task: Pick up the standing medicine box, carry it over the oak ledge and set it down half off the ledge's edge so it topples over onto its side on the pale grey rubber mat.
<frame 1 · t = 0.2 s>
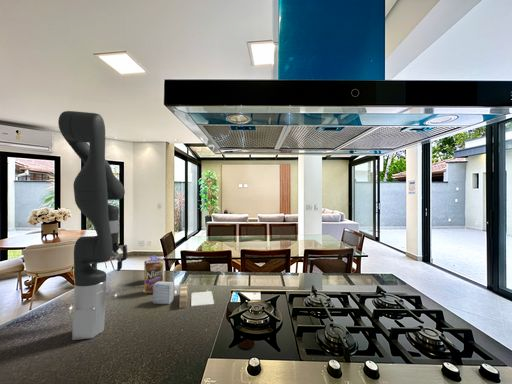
hand: (107, 271, 99), 17 cm above the countertop, tool pointing down, fingers open, 8 cm apart
candy box: (154, 292, 124), on the countertop
mat: (202, 298, 115), on the countertop
medicine box: (163, 302, 111), on the countertop
ink cartridge box: (153, 281, 142), on the countertop
ledge: (183, 300, 113), on the countertop
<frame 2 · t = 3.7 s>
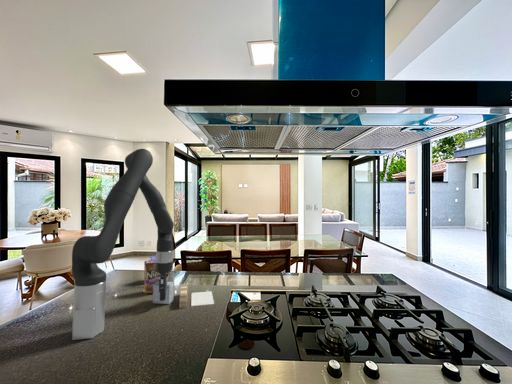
hand: (163, 297, 111), 2 cm above the countertop, tool pointing down, fingers closed on medicine box, 5 cm apart
medicine box: (163, 302, 111), on the countertop, touching gripper
everything else where it was.
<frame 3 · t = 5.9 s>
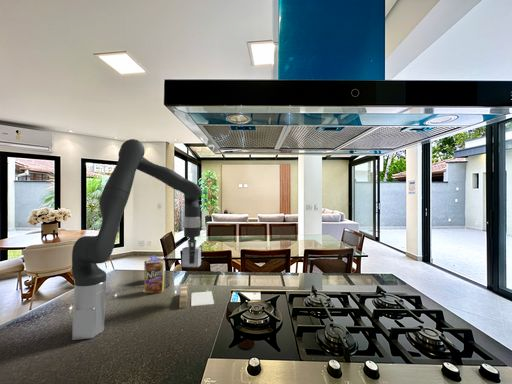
hand: (191, 261, 116), 18 cm above the countertop, tool pointing down, fingers closed on medicine box, 5 cm apart
medicine box: (191, 266, 115), point 15 cm above the countertop, touching gripper
everything else where it was.
when the fingers open (8 cm above the countertop, at t = 8.1 s): medicine box drops 1 cm, resting on mat.
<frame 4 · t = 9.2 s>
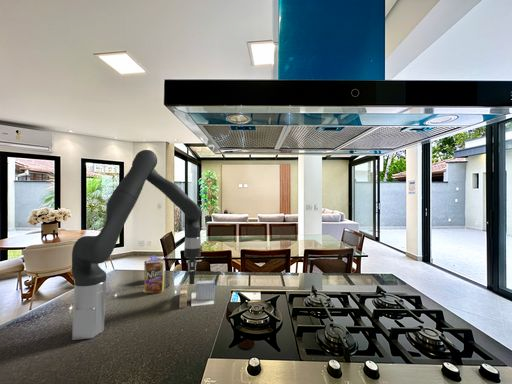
hand: (191, 281, 115), 9 cm above the countertop, tool pointing down, fingers open, 8 cm apart
medicine box: (195, 290, 114), point 4 cm above the countertop, touching mat
everything else where it was.
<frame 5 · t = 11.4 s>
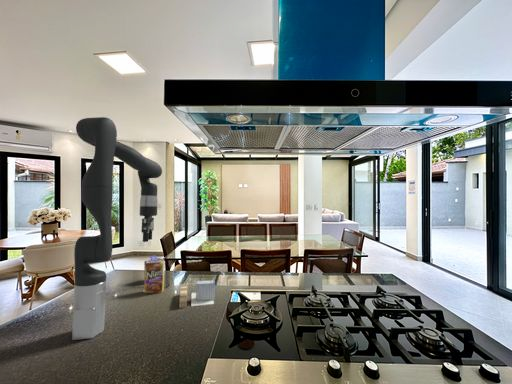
hand: (147, 240, 112), 28 cm above the countertop, tool pointing down, fingers open, 8 cm apart
nothing on the countertop moved.
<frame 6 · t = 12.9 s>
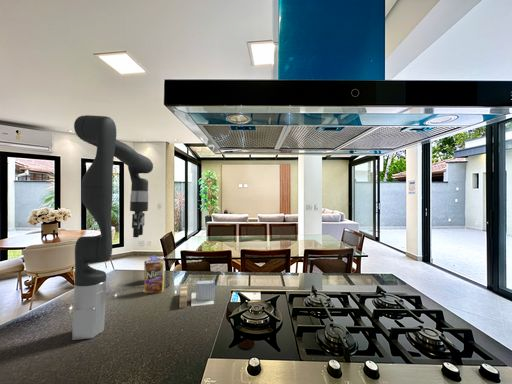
hand: (138, 236, 112), 30 cm above the countertop, tool pointing down, fingers open, 8 cm apart
nothing on the countertop moved.
at the end: medicine box tilted 90°; medicine box inside the target area (5.7 cm from its centre), point 4.4 cm above the countertop; the gripper is holding nothing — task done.
